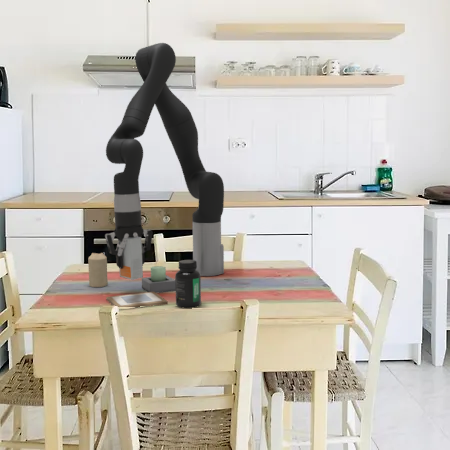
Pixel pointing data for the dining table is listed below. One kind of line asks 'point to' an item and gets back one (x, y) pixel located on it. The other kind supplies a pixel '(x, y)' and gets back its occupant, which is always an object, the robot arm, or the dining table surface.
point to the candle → (97, 270)
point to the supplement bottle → (188, 284)
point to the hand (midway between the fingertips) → (130, 266)
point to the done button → (158, 273)
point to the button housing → (158, 285)
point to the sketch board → (137, 300)
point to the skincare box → (132, 259)
